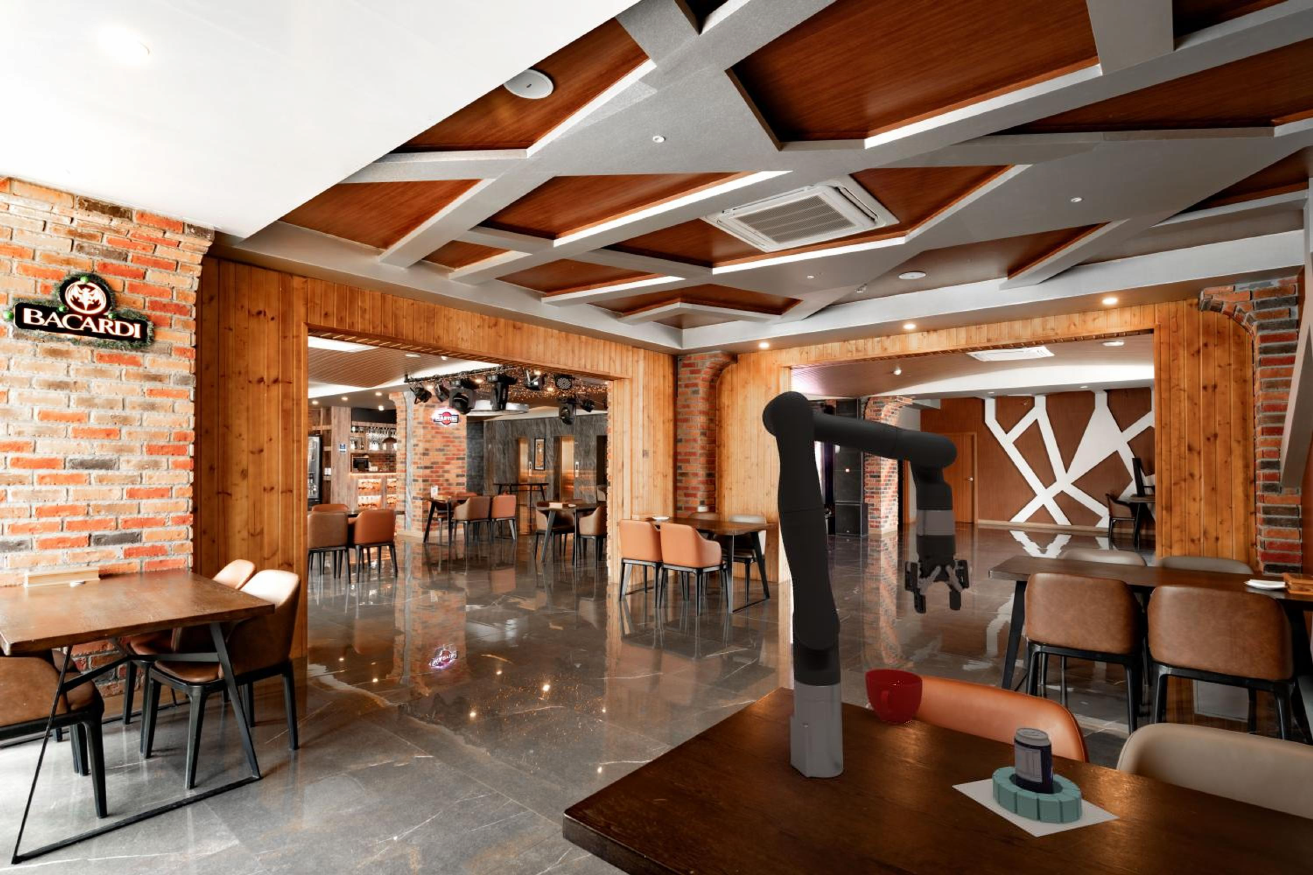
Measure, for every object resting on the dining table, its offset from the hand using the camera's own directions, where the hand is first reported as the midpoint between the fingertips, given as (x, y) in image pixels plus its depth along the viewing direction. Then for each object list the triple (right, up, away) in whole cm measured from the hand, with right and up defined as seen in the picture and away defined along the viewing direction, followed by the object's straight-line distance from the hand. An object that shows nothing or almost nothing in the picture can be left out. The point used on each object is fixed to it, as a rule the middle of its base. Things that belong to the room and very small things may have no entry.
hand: (938, 611), depth 133 cm
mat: (+8, -29, -19) cm, 36 cm away
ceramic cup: (-2, -32, +20) cm, 38 cm away
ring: (+8, -28, -20) cm, 36 cm away
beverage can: (+8, -28, -20) cm, 36 cm away
